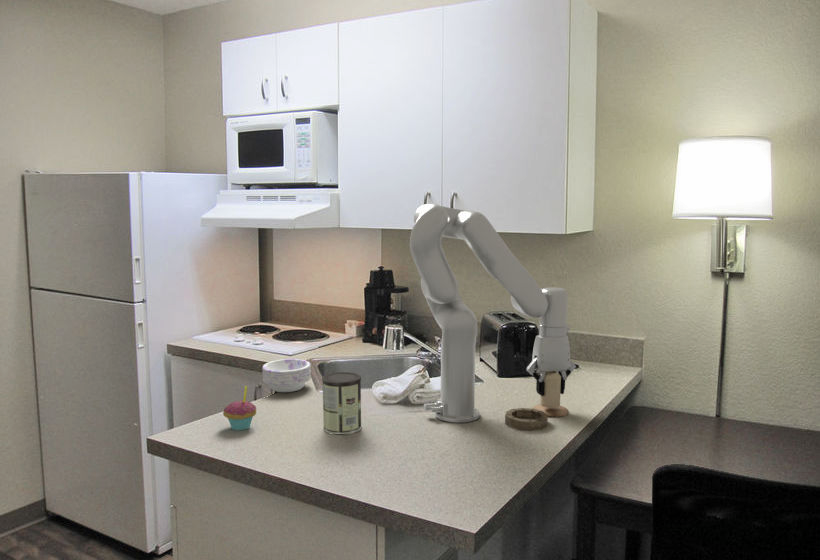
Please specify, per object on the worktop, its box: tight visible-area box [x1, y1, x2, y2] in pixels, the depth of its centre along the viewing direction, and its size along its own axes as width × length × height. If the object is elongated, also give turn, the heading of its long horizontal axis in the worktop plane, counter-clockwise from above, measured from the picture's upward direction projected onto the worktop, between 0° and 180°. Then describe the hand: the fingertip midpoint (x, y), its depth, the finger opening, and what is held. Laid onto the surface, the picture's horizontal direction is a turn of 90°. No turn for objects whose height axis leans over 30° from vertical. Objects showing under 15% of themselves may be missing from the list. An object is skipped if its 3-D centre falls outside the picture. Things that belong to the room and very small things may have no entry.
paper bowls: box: [261, 358, 312, 393], centre depth 215 cm, size 15×15×8 cm
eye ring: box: [504, 407, 549, 432], centre depth 184 cm, size 11×11×2 cm
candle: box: [540, 371, 561, 408], centre depth 193 cm, size 6×6×10 cm
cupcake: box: [222, 383, 257, 431], centre depth 180 cm, size 9×8×12 cm
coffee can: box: [321, 371, 362, 435], centre depth 179 cm, size 10×10×14 cm
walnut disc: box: [532, 404, 569, 418], centre depth 194 cm, size 10×10×1 cm
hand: (550, 392), depth 193 cm, fingers closed on candle, 5 cm apart
